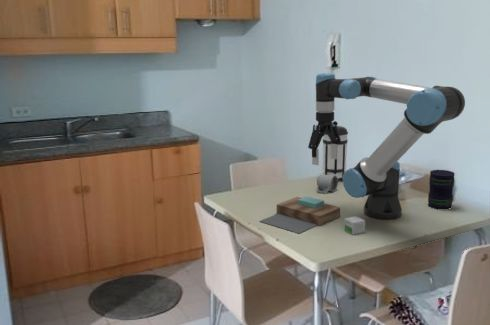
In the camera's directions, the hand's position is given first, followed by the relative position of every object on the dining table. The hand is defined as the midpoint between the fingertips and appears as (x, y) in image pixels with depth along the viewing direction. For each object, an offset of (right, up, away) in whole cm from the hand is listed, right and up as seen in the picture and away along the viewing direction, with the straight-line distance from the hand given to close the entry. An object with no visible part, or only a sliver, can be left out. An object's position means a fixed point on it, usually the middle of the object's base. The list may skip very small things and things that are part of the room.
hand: (324, 161), depth 214 cm
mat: (-16, -24, -13) cm, 32 cm away
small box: (+8, -27, -22) cm, 35 cm away
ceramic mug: (+5, -14, +29) cm, 33 cm away
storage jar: (+50, -19, +5) cm, 54 cm away
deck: (-8, -22, -4) cm, 24 cm away
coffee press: (+13, -9, +48) cm, 51 cm away
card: (-6, -18, -3) cm, 19 cm away
